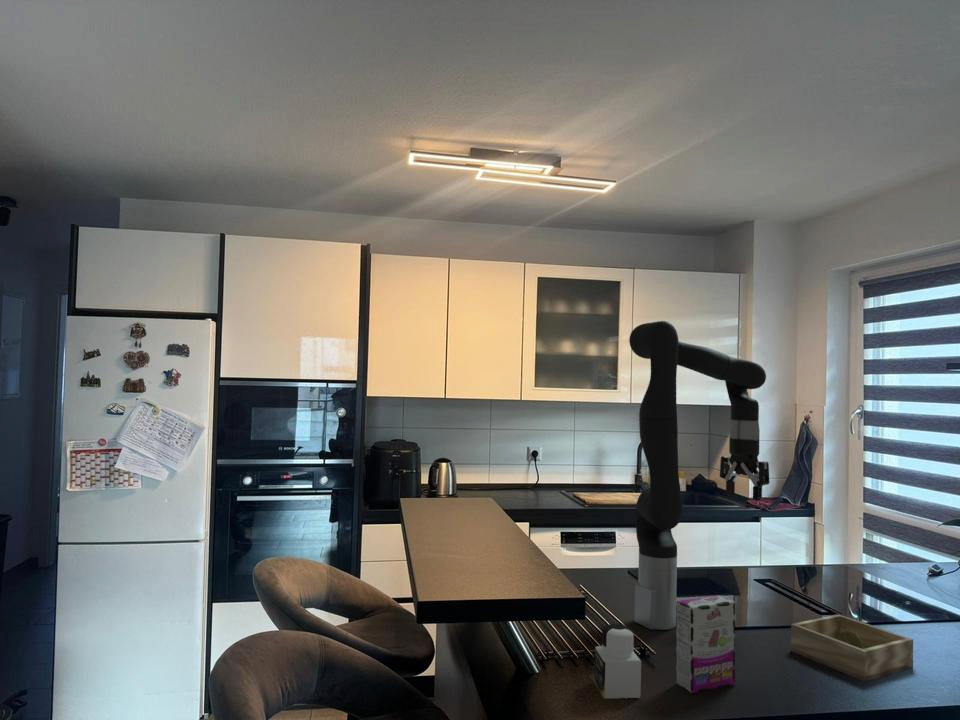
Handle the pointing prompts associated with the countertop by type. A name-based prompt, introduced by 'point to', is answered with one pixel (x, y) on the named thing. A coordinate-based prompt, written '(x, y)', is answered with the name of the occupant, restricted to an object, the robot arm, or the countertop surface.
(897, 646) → the crate
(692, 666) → the candy bar box
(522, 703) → the countertop surface
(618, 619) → the countertop surface
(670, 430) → the robot arm
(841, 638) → the lime
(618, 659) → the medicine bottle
